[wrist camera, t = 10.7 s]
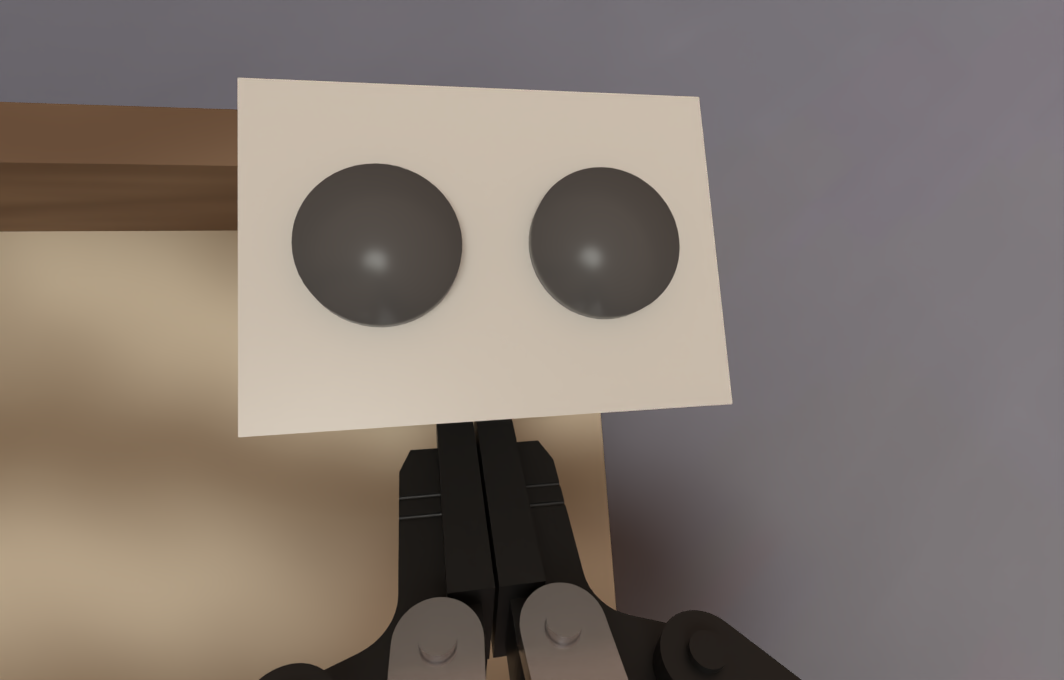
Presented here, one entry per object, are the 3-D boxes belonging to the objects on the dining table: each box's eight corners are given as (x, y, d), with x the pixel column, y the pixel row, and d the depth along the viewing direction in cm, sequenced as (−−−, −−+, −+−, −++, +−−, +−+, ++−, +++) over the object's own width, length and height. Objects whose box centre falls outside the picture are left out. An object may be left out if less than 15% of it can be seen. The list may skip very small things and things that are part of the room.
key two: (561, 412, 16) (743, 403, 7) (349, 426, 15) (230, 438, 6) (551, 270, 16) (708, 86, 7) (345, 274, 15) (230, 64, 6)
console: (613, 704, 16) (694, 826, 11) (-511, 893, 12) (-1177, 1231, 7) (573, 196, 18) (628, 113, 13) (-406, 190, 14) (-872, 61, 9)
